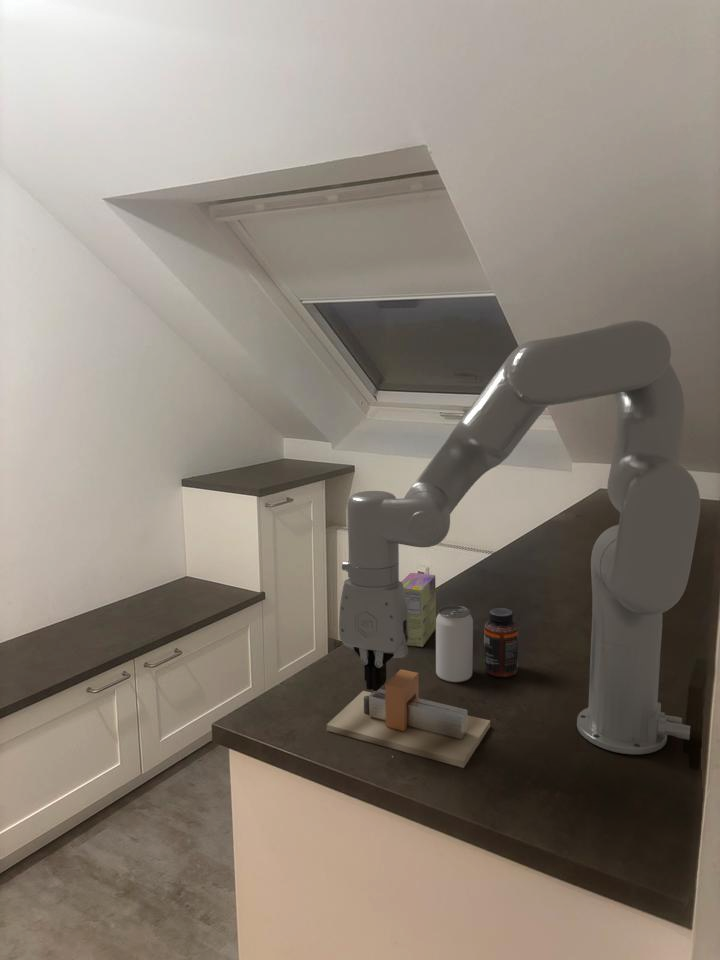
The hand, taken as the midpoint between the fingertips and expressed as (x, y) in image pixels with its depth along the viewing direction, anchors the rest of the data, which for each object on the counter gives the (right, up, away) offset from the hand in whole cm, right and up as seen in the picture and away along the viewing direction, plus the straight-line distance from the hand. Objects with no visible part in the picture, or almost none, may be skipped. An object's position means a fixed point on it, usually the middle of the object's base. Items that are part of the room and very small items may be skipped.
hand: (375, 686), depth 106 cm
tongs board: (+5, -6, -2) cm, 8 cm away
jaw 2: (+7, -5, -2) cm, 8 cm away
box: (+9, 0, +33) cm, 34 cm away
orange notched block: (+4, -5, -1) cm, 6 cm away
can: (+14, -3, +16) cm, 22 cm away
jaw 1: (+6, -5, -3) cm, 8 cm away
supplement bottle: (+23, -3, +17) cm, 29 cm away
